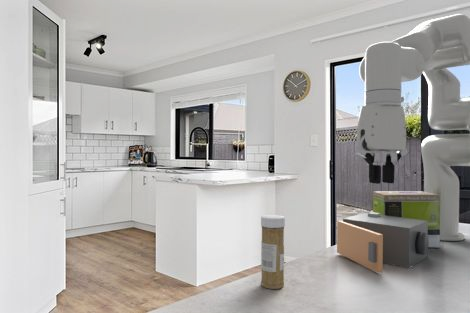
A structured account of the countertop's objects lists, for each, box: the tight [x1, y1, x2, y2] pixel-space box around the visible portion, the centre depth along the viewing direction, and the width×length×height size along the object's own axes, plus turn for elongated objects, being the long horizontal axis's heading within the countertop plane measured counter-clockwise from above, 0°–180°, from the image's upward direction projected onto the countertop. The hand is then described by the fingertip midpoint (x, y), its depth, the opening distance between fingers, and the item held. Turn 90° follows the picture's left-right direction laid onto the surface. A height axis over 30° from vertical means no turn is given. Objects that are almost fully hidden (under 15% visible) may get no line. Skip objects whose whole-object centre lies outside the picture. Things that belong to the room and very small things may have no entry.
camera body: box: [342, 211, 429, 269], centre depth 91 cm, size 13×17×10 cm
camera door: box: [336, 220, 384, 274], centre depth 84 cm, size 2×16×8 cm, turn 16°
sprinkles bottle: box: [260, 214, 286, 290], centre depth 70 cm, size 5×5×14 cm
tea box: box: [372, 190, 441, 249], centre depth 103 cm, size 15×10×15 cm
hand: (381, 182), depth 81 cm, fingers open, 2 cm apart
